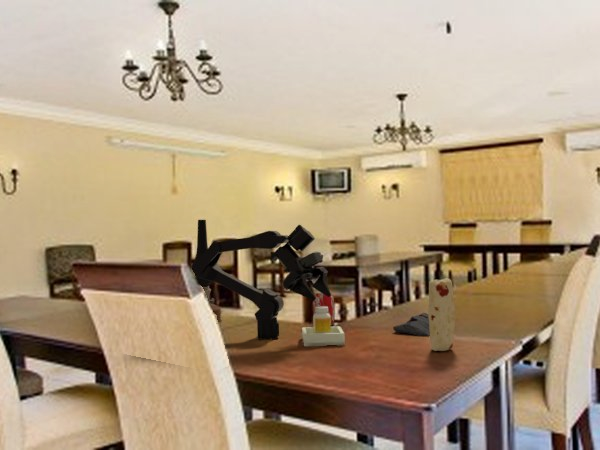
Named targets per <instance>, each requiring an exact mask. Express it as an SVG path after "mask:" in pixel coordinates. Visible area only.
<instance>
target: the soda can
mask: <svg viewBox="0 0 600 450" xmlns="http://www.w3.org/2000/svg"><path fill="white" fill-rule="evenodd" d="M330 293H331V296H330V297H327V296H326V295H324V294H323V293H321V292H319V291H315V294H314V295H315V297H316V299H315V300H314V301H313V315H314V314H315V313H316V312H315V307H318V306H326V307H328V312H327V313H328V314H330V319H331V326H332V325H333V324H335V323H334V322H335V312H334V311H335V308H334V306H335V305H334V303H335V302H334V301H335V300H334V296H333V294H332V291H330Z"/></svg>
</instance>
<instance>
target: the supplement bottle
mask: <svg viewBox="0 0 600 450" xmlns="http://www.w3.org/2000/svg"><path fill="white" fill-rule="evenodd" d="M315 312H316V313H315V314H314V313H313V316H312V327H313V334H317V333H331V327H332V325H331V319H330V314H328V313H327V312H328V307H326V306H318V307H315Z"/></svg>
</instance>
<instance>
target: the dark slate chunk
mask: <svg viewBox="0 0 600 450" xmlns="http://www.w3.org/2000/svg"><path fill="white" fill-rule="evenodd" d="M392 329H393V331H394V332H397V333H400V334H406V333H407V335H411V334H413V335H412V336H417V335H419V336H418V337H430V328H429V315H428V312H427V313H426V312H422V313H420V314H417V315H415V316H414V315H413V316H411V317H410V318H409V320H408V321H406V322H405V323H404V322H403V323H401V324H398V325H395V326H393V327H392Z"/></svg>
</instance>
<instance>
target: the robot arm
mask: <svg viewBox="0 0 600 450" xmlns="http://www.w3.org/2000/svg"><path fill="white" fill-rule="evenodd" d="M315 240H316V238H315V236H314V235H313V234H312V233H311V231H310V230H307V229H306V228H305V227H304V226H302V224H298V225H297V226H296V227H295V228H294V230H293V231H292V232H291V233H289V235H287V234H284V235H283V234H281V233H280V231H278V230H267V231H264V232H261V233H258V234H255V235H252V236H247V237H243V238H234V239H229V240H218V241H217V240H216V241H213V242H211V244H210V245H209V246H208V249H207V250H206V251H205V252H204V253H203V254H202V255H201V256H200V258H199V259H198V260H196V261H195V260H194V261H195V262H194V261H193V262H192V264H191V268H192V270H193V272H194V273H195V276H196V277H199V278H202V279H205V280H209V281H213V282H214V283H216V284H219V285H220V286H223V288H226V289H228V290H230V291H232V292H234V293H235V294H237V295H239V296H241V297H243V298H245V299H246V300H249V301H251V302H252V303H253V304H254V305H255V306H256V307H257V309H258V310H257V311H256V312H255V313H254V317H255V319H256V321H257V322H256V323H257V325H256V326H257V329H256V330H257V331H256V333H257V336H256V340H277V339H278V338H279V336H280V322H279V321H278V315H279V312H280V311H282V309H284V304H285V303H284V299H283V297H281V296H280V295H279V294H280V293H279V292H275V291H274V290H272V289H270V288H266V289H265V288H264V289H263V290H260V289H257V288H256V287H255V286H252V285H251V284H248V283H246V282H244V281H243V280H241V279H239V278H237V277H235V276H233V275H231V274H229V273H227V272H225V271H224V270H222V268H221V267H220V266H219V265H218V262H219V261H220V258H221V256H222V254H223V253H226V252H233V251H240V250H247V249H261V250H262V249H264V250H266V249H267V250H272V249H275V251H271V252H270V256H269V260H270V261H273V262H277V260H278V261H279V262H280V263H281V265H283V267H284V268H285V269H284V272H285V273H286V274H287V275H286V276H285V277H284V279H283V280H282V287H283V288H284V289H285V290H286V291H288V290H289V291H290V292H294V293H295V294H298V295H300V296H303V297H305V298H307V299H308V300H311V301H313V302H314V300H315V299H316V297H315V294H314V292H313V291H312V290H311V288H310V287H309V285H312V286H311V287H312V288H313V289H315V290H317V292H321V293H323V294H324V295H326V296H327V297H330V296H331V294H332V293H330V292H331V291H330V288H329V286H328V284H327V281H326V278H327V275H328V272H329V271H328V270H327V269H326V267H322V266H321V267H314V266H316V265H319V264H320V263H323V262H324V261H323V260H324V258H323V257H324V255H323V254H322V253H321V252H320V251H317V250H316V251H314V252H311V253H309V254H308V255H306V256H300V255H299V254H298V253H297V252H299V251H301V252H303V251H304V250H306V248H308V246H309V245H311V244H312V243H313V241H315ZM282 244H283V246H282ZM307 282H308V284H309V285H308V284H307Z"/></svg>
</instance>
